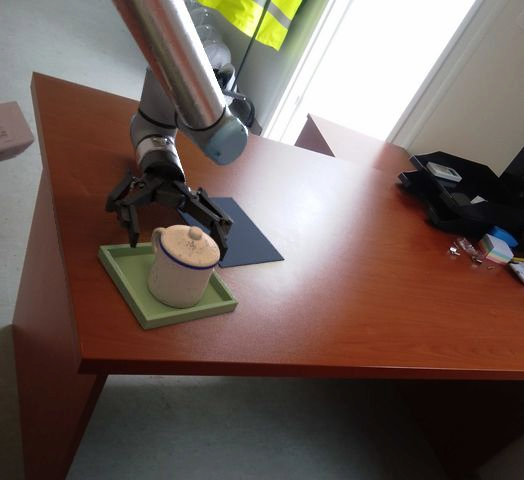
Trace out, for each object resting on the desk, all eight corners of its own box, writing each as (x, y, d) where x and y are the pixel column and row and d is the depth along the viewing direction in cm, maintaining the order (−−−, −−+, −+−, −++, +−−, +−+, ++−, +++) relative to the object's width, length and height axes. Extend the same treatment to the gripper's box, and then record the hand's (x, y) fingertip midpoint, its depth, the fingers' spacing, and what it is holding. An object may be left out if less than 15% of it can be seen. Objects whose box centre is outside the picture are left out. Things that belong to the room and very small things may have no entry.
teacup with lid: (213, 301, 74) (239, 245, 66) (169, 317, 68) (193, 256, 60) (168, 253, 77) (188, 194, 69) (122, 264, 71) (139, 200, 63)
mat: (167, 198, 88) (168, 197, 88) (231, 198, 99) (231, 197, 99) (221, 268, 81) (221, 267, 81) (284, 260, 91) (284, 259, 91)
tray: (97, 256, 70) (99, 245, 69) (187, 248, 81) (191, 239, 79) (144, 330, 64) (147, 320, 63) (234, 310, 75) (239, 302, 74)
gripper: (88, 129, 71) (97, 210, 59) (232, 167, 83) (264, 241, 71) (81, 171, 76) (88, 254, 64) (218, 202, 88) (246, 276, 76)
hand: (181, 248), depth 68 cm, fingers open, 13 cm apart
